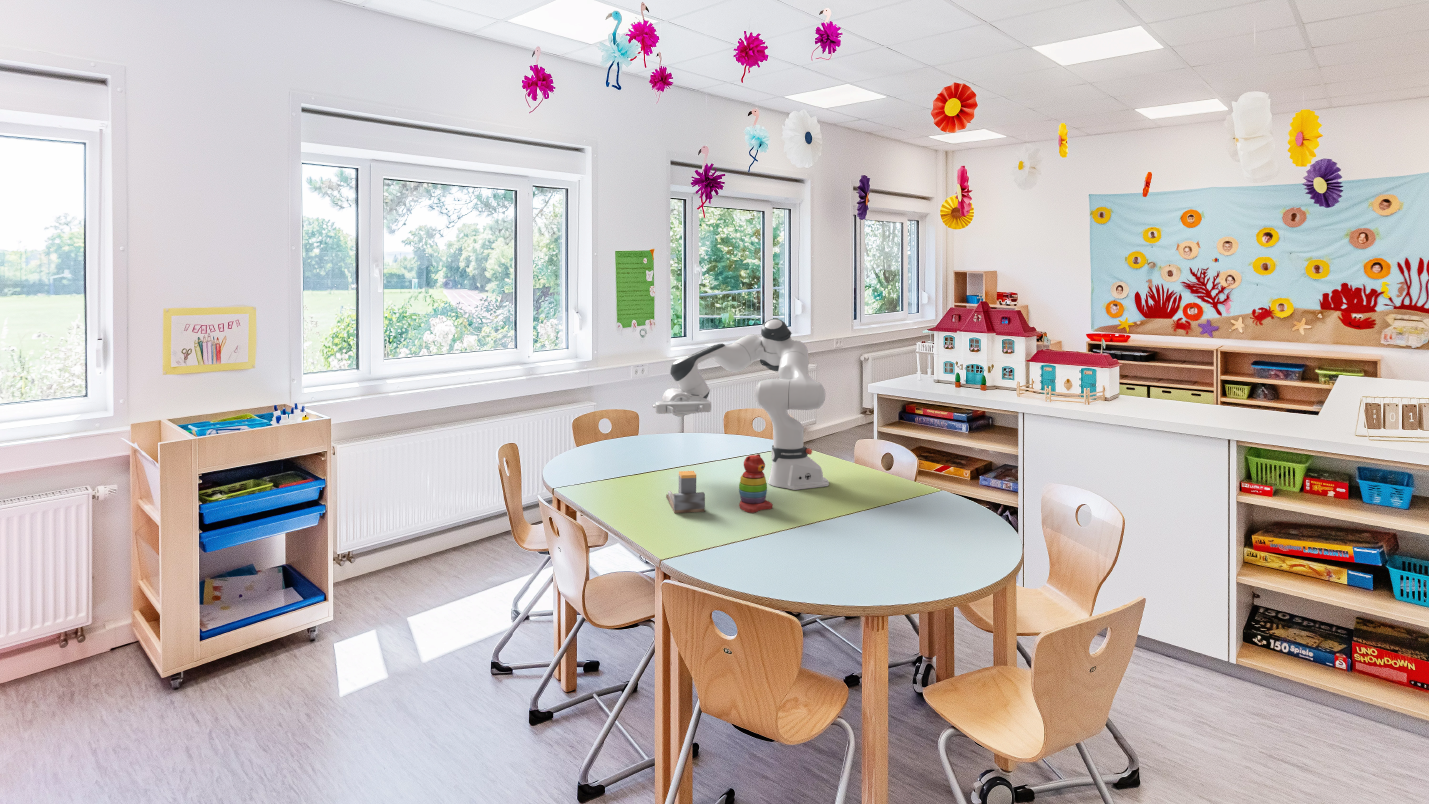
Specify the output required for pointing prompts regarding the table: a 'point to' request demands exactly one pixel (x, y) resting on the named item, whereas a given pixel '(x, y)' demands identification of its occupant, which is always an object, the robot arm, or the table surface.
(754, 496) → the stacking bear
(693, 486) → the grey tall block
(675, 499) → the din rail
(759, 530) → the table surface
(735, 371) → the robot arm
